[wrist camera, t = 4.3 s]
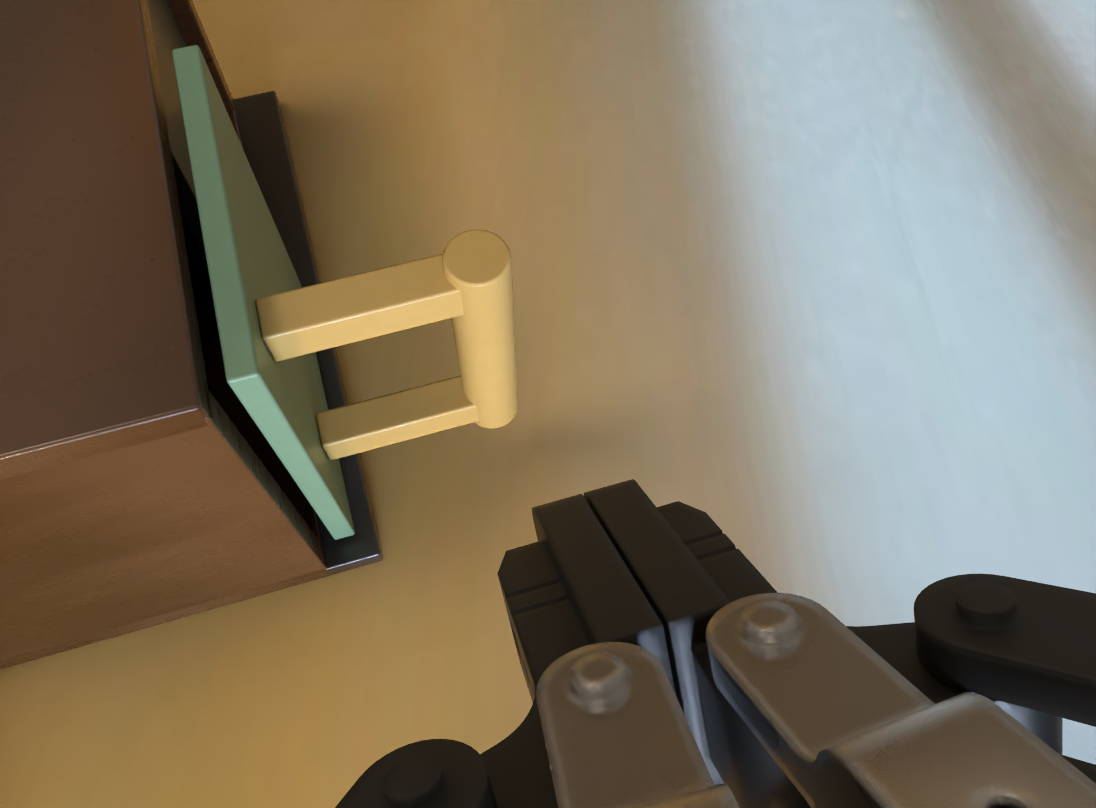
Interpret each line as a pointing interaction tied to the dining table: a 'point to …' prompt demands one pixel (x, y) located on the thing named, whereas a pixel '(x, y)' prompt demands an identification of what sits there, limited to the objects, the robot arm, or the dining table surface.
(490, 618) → the dining table surface
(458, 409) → the door
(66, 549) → the cabinet
